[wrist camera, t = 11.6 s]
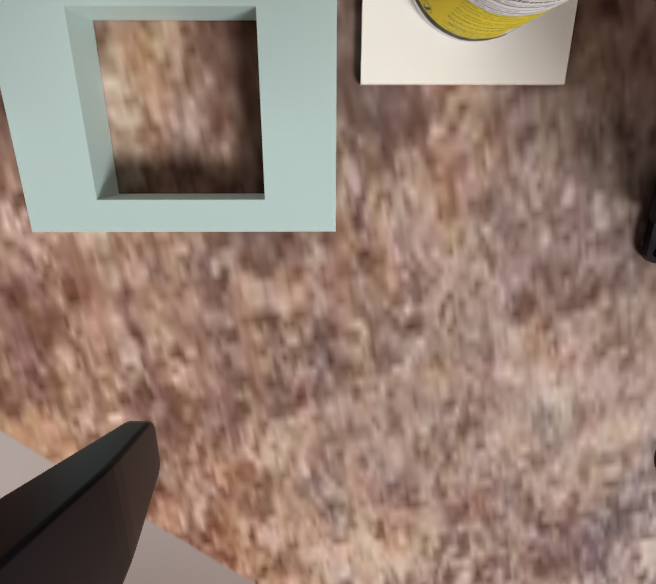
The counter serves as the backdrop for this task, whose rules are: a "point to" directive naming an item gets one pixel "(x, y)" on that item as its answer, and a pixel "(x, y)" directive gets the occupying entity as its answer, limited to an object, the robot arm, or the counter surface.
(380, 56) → the white square tile
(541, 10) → the supplement bottle
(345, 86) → the counter surface
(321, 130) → the holder block
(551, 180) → the counter surface
